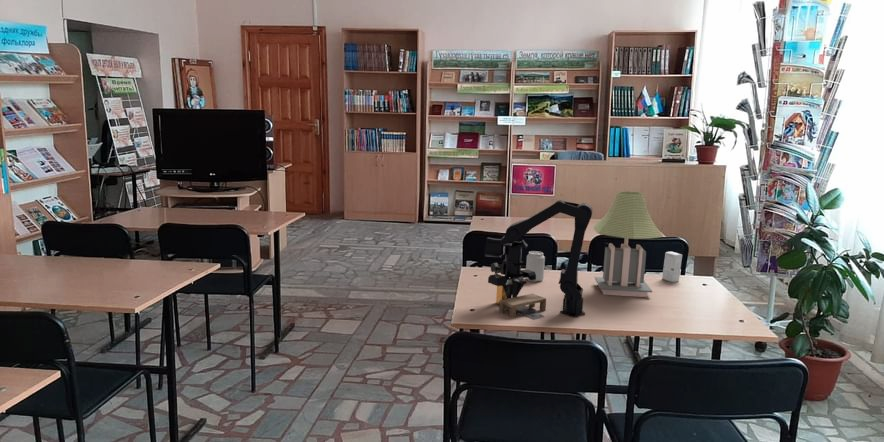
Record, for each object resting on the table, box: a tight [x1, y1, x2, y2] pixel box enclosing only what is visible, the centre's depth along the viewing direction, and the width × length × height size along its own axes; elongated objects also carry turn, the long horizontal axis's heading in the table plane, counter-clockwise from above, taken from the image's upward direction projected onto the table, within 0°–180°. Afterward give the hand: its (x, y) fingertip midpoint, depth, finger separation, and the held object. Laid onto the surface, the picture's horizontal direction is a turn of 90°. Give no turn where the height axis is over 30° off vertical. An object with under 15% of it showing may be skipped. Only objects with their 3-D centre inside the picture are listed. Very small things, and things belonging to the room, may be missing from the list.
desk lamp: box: [593, 190, 663, 298], centre depth 255 cm, size 26×28×40 cm
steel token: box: [524, 312, 546, 320], centre depth 223 cm, size 5×5×1 cm
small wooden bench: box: [498, 293, 547, 319], centre depth 227 cm, size 7×16×4 cm, turn 126°
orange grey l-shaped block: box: [495, 286, 537, 317], centre depth 231 cm, size 16×6×8 cm, turn 36°
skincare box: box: [661, 251, 683, 283], centre depth 277 cm, size 6×4×12 cm
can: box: [525, 250, 546, 283], centre depth 270 cm, size 8×8×12 cm
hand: (511, 300), depth 232 cm, fingers closed
